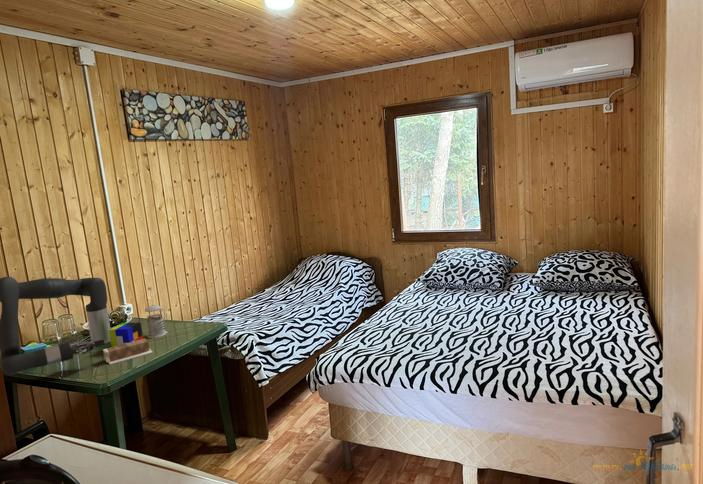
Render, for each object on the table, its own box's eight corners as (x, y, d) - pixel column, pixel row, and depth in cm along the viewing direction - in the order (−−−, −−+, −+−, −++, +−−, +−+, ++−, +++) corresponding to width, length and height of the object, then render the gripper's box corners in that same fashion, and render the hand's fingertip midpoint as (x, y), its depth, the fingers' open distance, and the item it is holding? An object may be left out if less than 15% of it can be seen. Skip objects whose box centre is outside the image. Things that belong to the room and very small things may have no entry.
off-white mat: (109, 364, 209) (109, 363, 209) (105, 357, 219) (105, 356, 219) (152, 352, 219) (152, 351, 219) (146, 346, 229) (146, 345, 229)
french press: (142, 336, 245) (135, 289, 241) (162, 329, 255) (155, 283, 251) (155, 338, 240) (147, 290, 236) (174, 331, 249) (167, 284, 246)
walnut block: (105, 352, 210) (148, 341, 221) (102, 349, 215) (144, 338, 226) (106, 362, 211) (149, 350, 221) (104, 359, 216) (146, 347, 226)
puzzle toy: (130, 349, 227) (127, 329, 226) (112, 349, 229) (108, 329, 228) (143, 341, 237) (140, 322, 235) (125, 342, 239) (122, 322, 237)
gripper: (58, 348, 197) (105, 337, 207) (55, 341, 208) (100, 330, 217) (61, 366, 198) (108, 353, 208) (59, 357, 209) (103, 346, 219)
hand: (103, 341), depth 213 cm, fingers closed
